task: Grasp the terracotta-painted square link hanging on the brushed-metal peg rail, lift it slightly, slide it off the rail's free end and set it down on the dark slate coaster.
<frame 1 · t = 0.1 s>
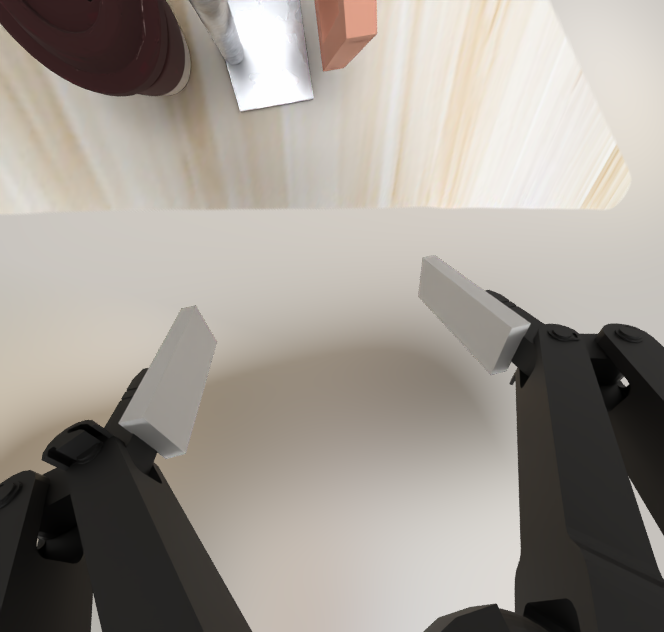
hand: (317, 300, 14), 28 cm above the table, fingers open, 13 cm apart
stand: (259, 46, 26), on the table
coffee cup: (154, 50, 25), on the table
link: (326, 1, 20), point 9 cm above the table, touching stand
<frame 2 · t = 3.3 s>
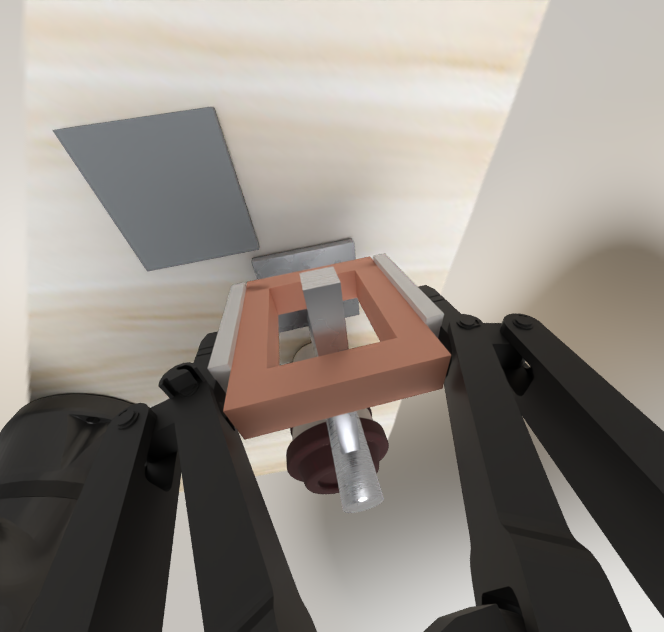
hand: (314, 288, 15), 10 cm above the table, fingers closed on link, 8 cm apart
stand: (311, 290, 27), on the table
coffee cup: (318, 357, 33), on the table
link: (312, 282, 16), point 9 cm above the table, touching gripper, stand
coaster: (178, 198, 19), on the table
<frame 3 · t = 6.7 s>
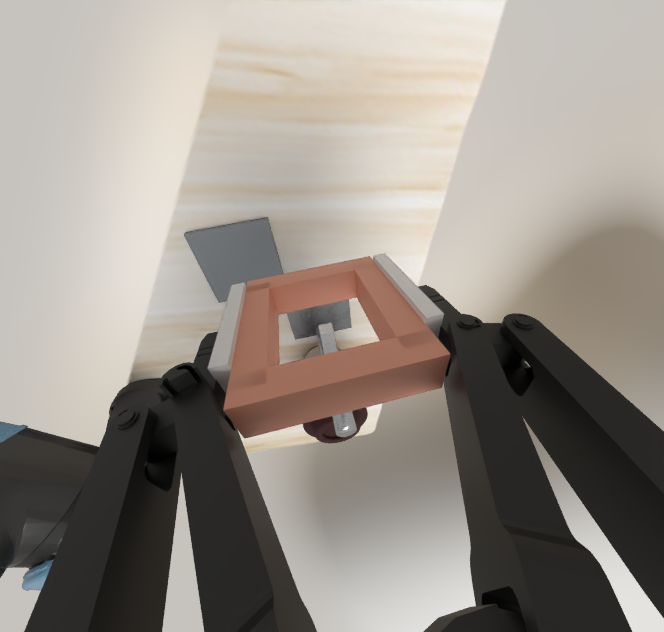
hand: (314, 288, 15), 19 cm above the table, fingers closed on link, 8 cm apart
stand: (319, 312, 40), on the table
coffee cup: (322, 356, 47), on the table
link: (312, 282, 16), point 18 cm above the table, touching gripper
coaster: (241, 262, 32), on the table
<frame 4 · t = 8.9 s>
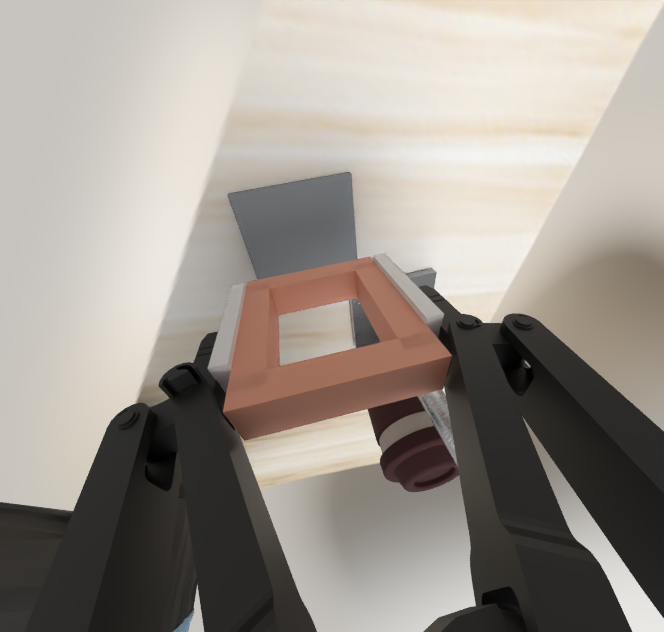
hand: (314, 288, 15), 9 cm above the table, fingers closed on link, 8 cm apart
stand: (389, 312, 30), on the table
coffee cup: (381, 369, 37), on the table
link: (312, 282, 16), point 9 cm above the table, touching gripper
coaster: (302, 241, 23), on the table
when the fingers open (3 cm above the table, at t = 10.5 s): link stays where it is, resting on coaster.
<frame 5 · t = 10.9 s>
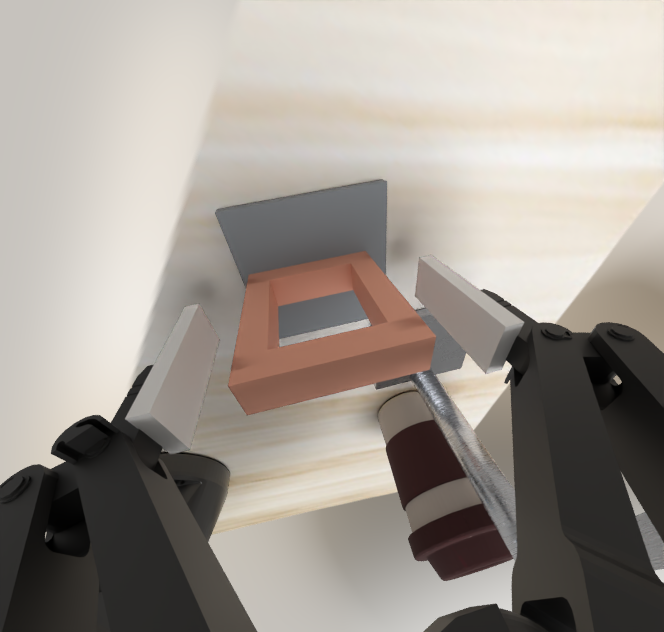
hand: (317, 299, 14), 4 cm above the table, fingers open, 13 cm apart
stand: (418, 347, 25), on the table
coffee cup: (402, 405, 31), on the table
link: (310, 275, 17), point 1 cm above the table, touching coaster
coaster: (316, 269, 17), on the table
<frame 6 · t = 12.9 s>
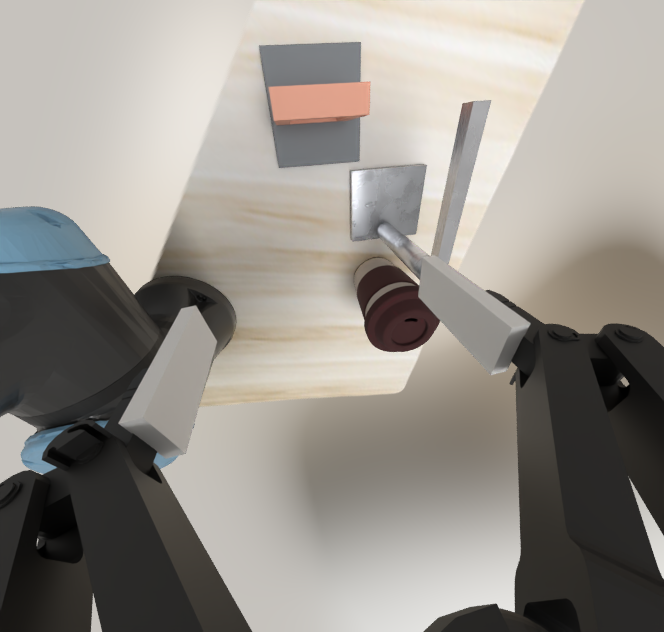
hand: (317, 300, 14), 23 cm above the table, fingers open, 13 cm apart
stand: (384, 207, 34), on the table
coffee cup: (373, 276, 41), on the table
link: (311, 111, 26), point 1 cm above the table, touching coaster
coaster: (315, 111, 27), on the table
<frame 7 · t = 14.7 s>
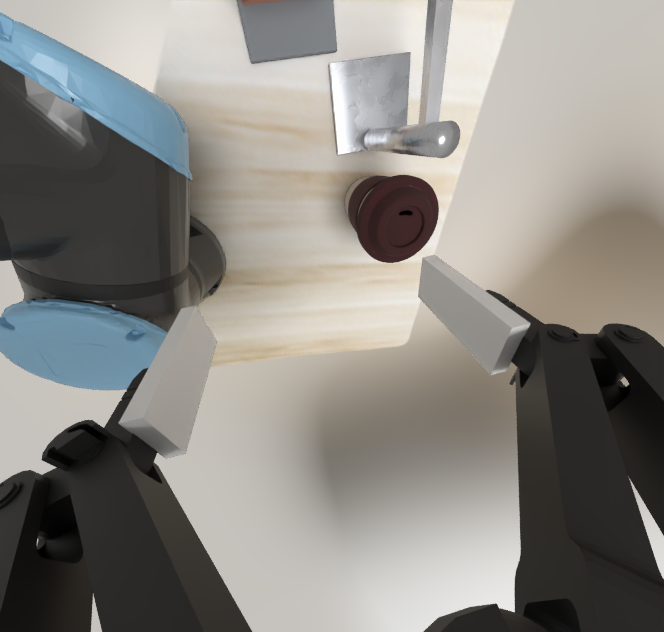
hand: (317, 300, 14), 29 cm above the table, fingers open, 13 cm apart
stand: (369, 112, 32), on the table
coffee cup: (365, 201, 39), on the table
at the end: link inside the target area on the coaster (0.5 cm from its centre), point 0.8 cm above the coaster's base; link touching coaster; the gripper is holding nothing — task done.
